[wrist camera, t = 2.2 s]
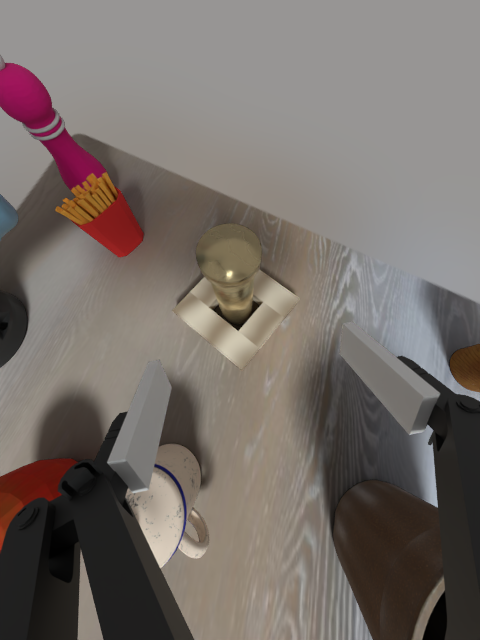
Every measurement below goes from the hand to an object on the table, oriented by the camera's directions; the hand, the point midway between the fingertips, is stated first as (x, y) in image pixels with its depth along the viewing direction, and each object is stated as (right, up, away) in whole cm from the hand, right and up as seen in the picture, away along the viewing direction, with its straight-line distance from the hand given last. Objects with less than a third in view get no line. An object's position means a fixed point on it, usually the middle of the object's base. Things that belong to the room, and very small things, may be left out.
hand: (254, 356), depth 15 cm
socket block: (-2, +4, +20) cm, 20 cm away
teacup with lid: (-9, -20, +13) cm, 26 cm away
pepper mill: (-29, +27, +27) cm, 48 cm away
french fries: (-22, +17, +24) cm, 37 cm away
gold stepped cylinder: (-2, +4, +20) cm, 20 cm away
